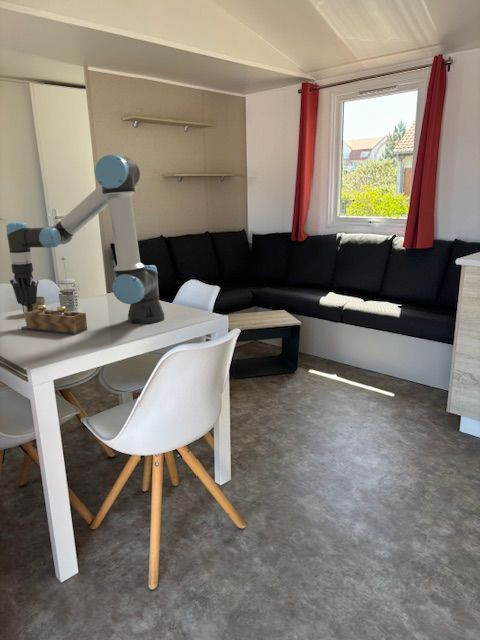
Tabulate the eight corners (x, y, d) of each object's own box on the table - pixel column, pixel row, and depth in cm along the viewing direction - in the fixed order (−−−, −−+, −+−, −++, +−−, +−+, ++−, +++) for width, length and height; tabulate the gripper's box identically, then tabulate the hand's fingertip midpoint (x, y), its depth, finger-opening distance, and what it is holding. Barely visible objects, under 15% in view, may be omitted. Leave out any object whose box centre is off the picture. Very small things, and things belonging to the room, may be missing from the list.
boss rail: (87, 329, 183) (84, 306, 181) (73, 335, 176) (70, 310, 174) (37, 324, 193) (34, 302, 191) (21, 329, 186) (18, 306, 184)
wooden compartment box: (87, 327, 182) (85, 312, 181) (74, 332, 176) (72, 317, 174) (40, 323, 191) (38, 308, 190) (26, 327, 185) (24, 312, 184)
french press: (53, 312, 214) (46, 258, 208) (71, 307, 224) (65, 255, 218) (70, 314, 210) (64, 258, 204) (88, 308, 220) (82, 255, 214)
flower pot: (38, 316, 207) (35, 301, 205) (18, 316, 209) (15, 300, 207) (51, 311, 216) (49, 296, 215) (32, 311, 218) (29, 296, 217)
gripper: (41, 262, 184) (48, 320, 190) (17, 261, 189) (24, 317, 194) (26, 264, 177) (34, 324, 183) (1, 263, 182) (9, 321, 188)
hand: (29, 321), depth 189 cm, fingers closed
